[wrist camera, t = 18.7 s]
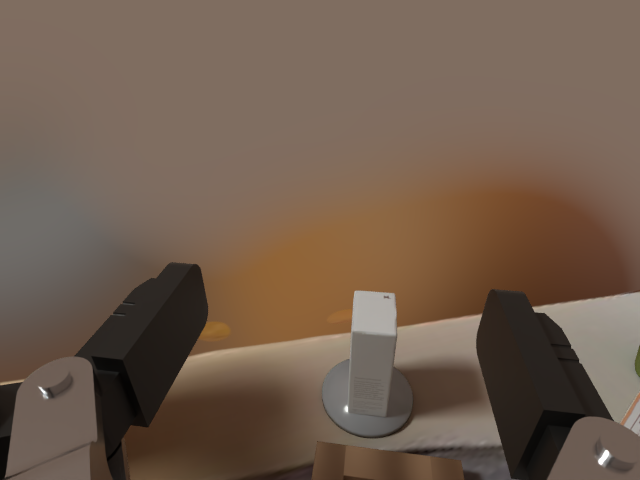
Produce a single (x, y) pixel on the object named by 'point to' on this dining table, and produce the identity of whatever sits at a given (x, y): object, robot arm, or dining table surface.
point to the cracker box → (633, 416)
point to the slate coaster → (366, 424)
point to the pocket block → (380, 465)
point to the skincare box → (372, 352)
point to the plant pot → (637, 362)
